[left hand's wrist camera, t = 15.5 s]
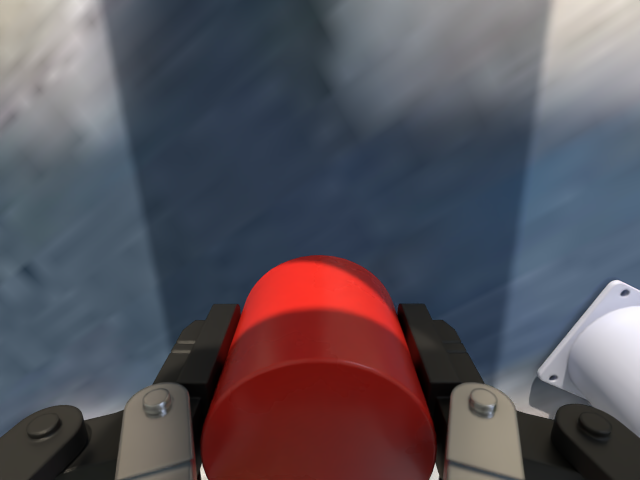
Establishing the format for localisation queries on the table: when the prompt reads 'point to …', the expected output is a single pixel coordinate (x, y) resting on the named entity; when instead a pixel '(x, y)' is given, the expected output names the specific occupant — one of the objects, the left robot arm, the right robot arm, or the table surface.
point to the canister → (318, 383)
